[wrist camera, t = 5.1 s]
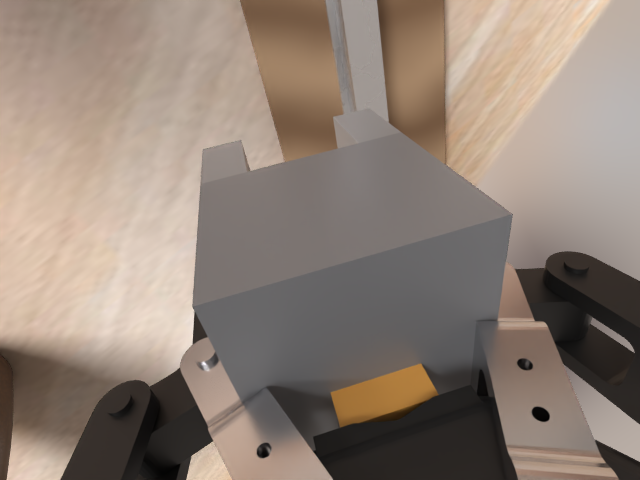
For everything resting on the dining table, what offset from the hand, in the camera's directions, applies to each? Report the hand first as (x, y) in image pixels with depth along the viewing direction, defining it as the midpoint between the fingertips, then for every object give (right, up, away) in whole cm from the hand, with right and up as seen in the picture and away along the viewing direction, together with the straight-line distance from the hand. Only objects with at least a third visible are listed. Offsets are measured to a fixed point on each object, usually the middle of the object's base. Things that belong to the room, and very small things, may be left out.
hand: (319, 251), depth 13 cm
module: (0, +1, +1) cm, 1 cm away
